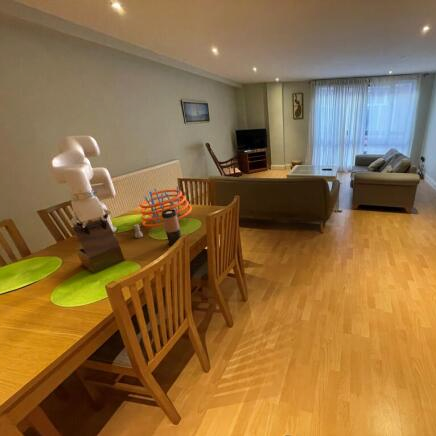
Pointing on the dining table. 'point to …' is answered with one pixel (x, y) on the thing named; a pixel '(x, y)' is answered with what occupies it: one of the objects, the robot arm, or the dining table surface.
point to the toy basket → (161, 203)
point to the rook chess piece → (137, 231)
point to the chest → (101, 259)
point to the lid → (96, 237)
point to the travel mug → (171, 225)
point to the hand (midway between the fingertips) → (96, 230)
